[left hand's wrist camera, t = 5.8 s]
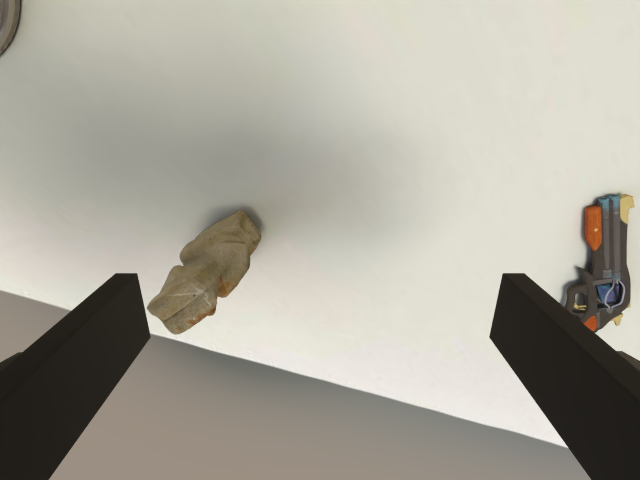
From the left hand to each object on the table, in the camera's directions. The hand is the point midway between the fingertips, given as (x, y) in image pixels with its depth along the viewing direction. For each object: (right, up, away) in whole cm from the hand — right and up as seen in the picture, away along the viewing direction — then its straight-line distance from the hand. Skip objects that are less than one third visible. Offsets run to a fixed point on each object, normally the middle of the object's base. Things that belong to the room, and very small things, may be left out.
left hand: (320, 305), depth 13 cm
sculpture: (-10, +3, +27) cm, 29 cm away
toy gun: (+30, -2, +29) cm, 42 cm away
